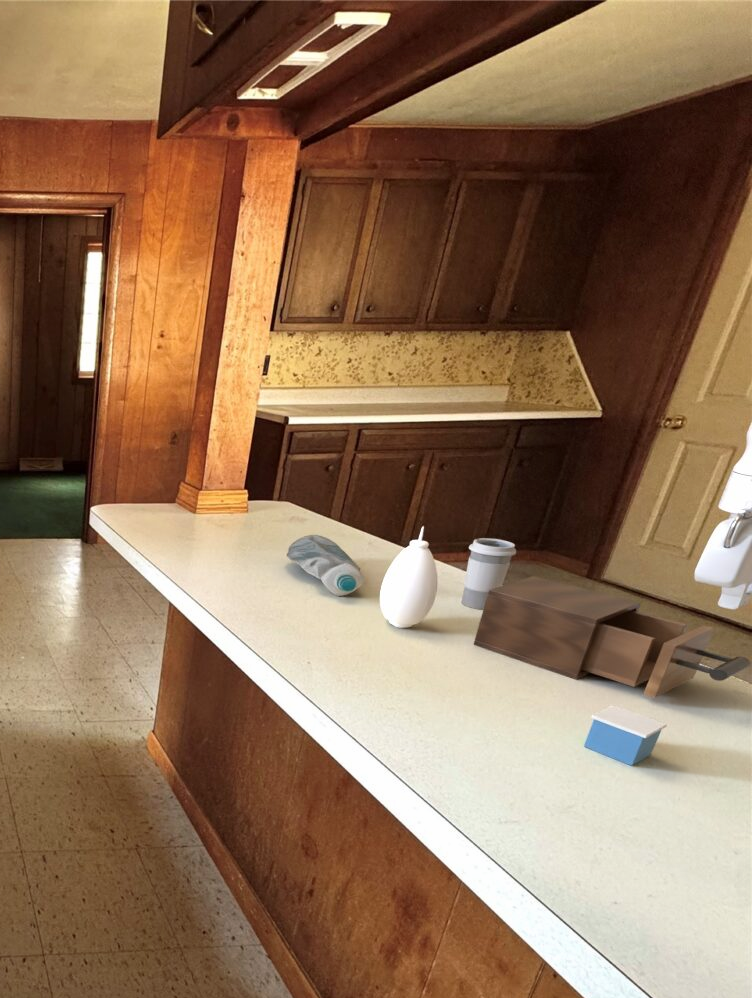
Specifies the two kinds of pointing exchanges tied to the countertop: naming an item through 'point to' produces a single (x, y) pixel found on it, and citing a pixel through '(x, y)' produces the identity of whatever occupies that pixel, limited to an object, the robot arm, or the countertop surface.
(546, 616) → the cabinet
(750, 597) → the robot arm
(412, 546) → the white air blower bulb
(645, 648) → the drawer
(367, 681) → the countertop surface
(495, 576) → the cup
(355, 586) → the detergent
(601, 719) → the plastic tub
